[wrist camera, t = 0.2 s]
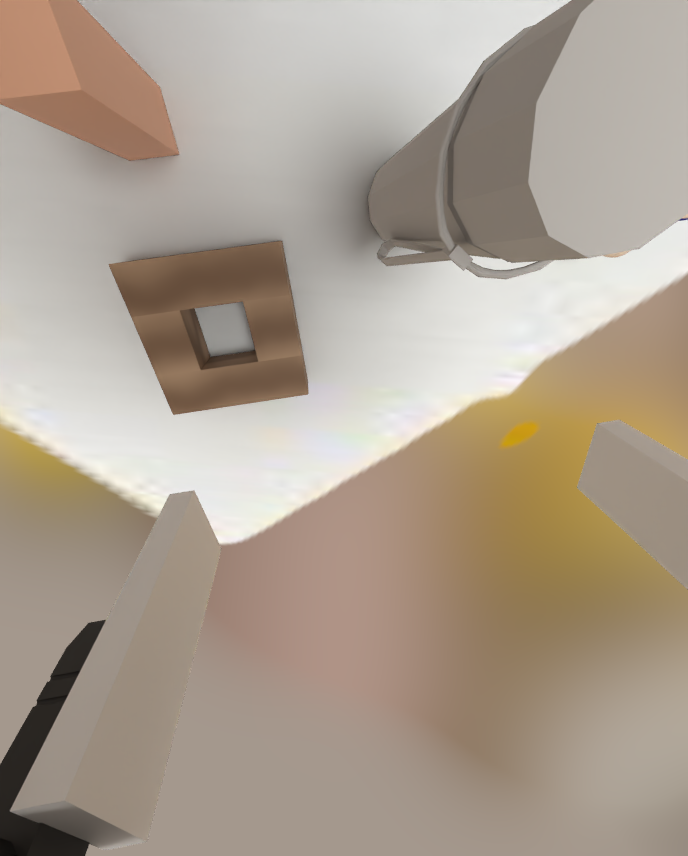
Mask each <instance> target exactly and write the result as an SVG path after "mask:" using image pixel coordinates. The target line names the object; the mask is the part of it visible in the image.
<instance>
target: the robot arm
mask: <svg viewBox="0 0 688 856" xmlns="http://www.w3.org/2000/svg"><path fill="white" fill-rule="evenodd" d="M577 488H578V489H579V490H580V491H581V492H582V493H583V494H584V495H586V496H587V497H588V498H589V499H590V500H591V501H592V502H593V503H594V504H595V505H596V506H598V507H599V508H600V509H601V510H602V511H603V512H604V513H605V514H606V515H607V516H608V517H610V518H611V519H612V520H613V521H614V522H615V523H616V524H617V525H618V526H619V527H620V528H622V529H623V530H624V531H625V532H626V533H627V534H628V535H629V536H630V537H631V538H632V539H633V540H634V541H636V542H637V543H638V544H639V545H640V546H641V547H642V548H643V549H644V550H645V551H646V552H647V553H649V554H650V555H651V556H652V557H653V558H654V559H655V560H656V561H657V562H658V563H660V564H661V565H662V566H663V567H664V568H665V569H666V570H667V571H668V572H669V573H670V574H671V575H673V576H674V577H675V578H676V579H677V580H678V581H679V582H680V583H681V584H682V585H683V586H685V587H686V588H687V589H688V459H686V458H684V457H682V456H681V455H679V454H677V453H676V452H674V451H672V450H670V449H669V448H667V447H665V446H664V445H662V444H660V443H658V442H656V441H655V440H653V439H652V438H650V437H648V436H646V435H645V434H643V433H641V432H640V431H638V430H636V429H634V428H633V427H631V426H629V425H627V424H626V423H624V422H622V421H621V420H615V421H609V422H603V423H597V425H596V428H595V431H594V435H593V438H592V441H591V444H590V447H589V451H588V454H587V457H586V460H585V463H584V467H583V470H582V473H581V476H580V480H579V483H578V486H577ZM220 552H221V547H220V545H219V543H218V540H217V538H216V536H215V534H214V532H213V530H212V528H211V525H210V523H209V521H208V519H207V517H206V515H205V513H204V510H203V508H202V506H201V504H200V502H199V500H198V497H197V495H196V493H195V491H194V490H193V491H187V492H181V493H175V494H170V495H169V497H168V499H167V501H166V503H165V505H164V507H163V509H162V511H161V513H160V515H159V516H158V518H157V520H156V522H155V525H154V526H153V528H152V530H151V532H150V534H149V536H148V538H147V540H146V542H145V544H144V546H143V548H142V550H141V552H140V554H139V556H138V558H137V560H136V562H135V564H134V566H133V568H132V570H131V572H130V574H129V576H128V578H127V580H126V582H125V584H124V586H123V588H122V590H121V592H120V594H119V596H118V598H117V600H116V602H115V604H114V606H113V608H112V610H111V611H110V613H109V615H108V618H107V619H106V620H102V621H97V622H91V623H88V624H87V625H86V627H85V628H84V629H83V630H82V631H81V632H80V633H79V635H78V636H77V637H76V638H75V639H74V640H73V641H72V642H71V644H70V645H69V646H68V647H67V648H66V650H65V652H64V654H63V655H62V657H61V659H60V660H59V662H58V664H57V666H56V667H55V669H54V671H53V673H52V675H51V680H50V681H49V682H47V683H46V685H45V687H44V688H43V690H42V692H41V694H40V696H39V697H38V699H37V705H36V706H35V707H33V708H32V710H31V711H30V713H29V715H28V717H27V718H26V720H25V722H24V724H23V725H22V727H21V729H20V731H19V733H18V734H17V736H16V738H15V740H14V741H13V743H12V745H11V747H10V748H9V750H8V752H7V754H6V756H5V757H4V759H3V761H2V763H1V764H0V856H85V854H86V851H87V848H88V845H89V844H91V845H93V846H96V847H98V848H101V849H103V850H109V849H114V848H119V847H124V846H129V845H134V844H139V843H144V842H147V841H148V837H149V832H150V829H151V824H152V821H153V817H154V813H155V809H156V805H157V801H158V797H159V793H160V789H161V785H162V781H163V777H164V773H165V770H166V766H167V762H168V758H169V754H170V750H171V746H172V741H173V738H174V734H175V730H176V726H177V722H178V718H179V714H180V710H181V706H182V702H183V698H184V695H185V691H186V687H187V683H188V679H189V675H190V671H191V667H192V662H193V659H194V655H195V651H196V647H197V643H198V639H199V635H200V631H201V627H202V624H203V620H204V616H205V611H206V608H207V604H208V599H209V596H210V592H211V588H212V584H213V580H214V576H215V572H216V568H217V564H218V560H219V556H220Z"/></svg>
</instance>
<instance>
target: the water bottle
mask: <svg viewBox="0 0 688 856" xmlns="http://www.w3.org/2000/svg"><path fill="white" fill-rule="evenodd" d="M368 204H369V214H370V221H371V223H372V225H373V226H374V228H375V229H376V231H377V232H378V234H379V236H380V237H381V239H383V240H385V241H386V242H385V243H383V244H382V245H381V247H380V249H379V251H378V253H377V258H379V259H380V260H381V261H382V262H383V263H384V264H385V265H387V266H393V265H404V264H415V263H425V262H436V261H447V260H452V261H453V262H454V263H455V264H456V265H458V266H459V267H460V268H461V269H462V270H463V271H464V270H465V268H466V269H467V270H469V271H470V272H472V273H473V274H475V275H476V276H478V277H485V278H497V279H509V278H512V277H516V276H519V275H523V274H526V273H530V272H534V271H537V270H540V269H542V268H543V267H545V266H546V265H548V264H549V263H551V262H552V261H554V260H564V259H580V258H591V257H597V256H602V255H608V254H613V253H619V252H624V251H630V250H635V249H640V248H641V247H642V246H644V245H645V244H647V243H648V242H649V241H651V240H652V239H654V238H655V237H656V236H658V235H659V234H660V233H662V232H663V231H665V230H666V229H667V228H669V227H670V226H672V225H673V224H674V223H676V222H677V221H678V220H680V219H681V218H683V217H684V216H685V215H687V214H688V0H572V1H570V2H569V3H567V4H566V5H564V6H563V7H561V8H560V9H558V10H557V11H555V12H554V13H552V14H551V15H549V16H548V17H546V18H545V19H543V20H542V21H540V22H539V23H537V24H536V25H533V26H530V27H528V28H525V29H523V30H522V31H521V32H519V33H518V34H517V35H516V36H514V37H513V38H512V39H511V40H509V41H508V42H507V43H505V44H504V45H503V46H502V47H501V48H499V49H498V50H497V51H496V52H494V53H493V54H492V55H491V56H489V57H488V58H487V59H486V60H484V61H483V63H482V64H481V66H480V67H479V69H478V70H477V72H476V73H475V75H474V76H473V78H472V80H471V81H470V83H469V84H468V86H467V87H466V89H465V90H464V92H463V93H462V95H461V96H460V98H459V99H458V100H457V101H456V102H455V103H453V104H452V105H451V106H450V107H449V108H448V109H447V110H445V111H444V112H443V113H442V114H441V115H440V116H438V117H437V118H436V119H435V120H434V121H433V122H432V123H430V124H429V125H428V126H427V127H426V128H425V129H424V130H422V131H421V132H420V133H419V134H418V135H417V136H416V137H414V138H413V139H412V140H411V141H410V142H409V143H407V144H406V145H405V146H404V147H403V148H402V149H401V150H399V151H398V152H397V153H396V154H395V155H394V156H393V157H392V158H391V159H390V160H389V161H387V162H386V163H385V164H384V165H383V166H382V167H381V168H380V169H379V170H378V171H377V172H376V174H375V177H374V180H373V183H372V186H371V189H370V192H369V195H368ZM396 246H397V247H402V248H407V249H412V250H417V251H422V252H425V253H417V254H410V255H403V256H395V257H388V258H385V257H386V255H387V254H388V252H389V251H390V250H391V249H392V248H394V247H396ZM469 255H472V256H480V257H489V258H498V259H503V260H505V261H507V262H511V263H516V262H532V261H538V262H535V263H533V264H530V265H527V266H525V267H521V268H516V269H511V270H492V269H487V268H483V267H481V266H479V265H477V264H475V263H473V262H471V261H472V260H473V259H472V258H471V257H470V256H469Z"/></svg>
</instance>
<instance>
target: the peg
mask: <svg viewBox="0 0 688 856" xmlns="http://www.w3.org/2000/svg"><path fill="white" fill-rule="evenodd" d="M0 104H2V105H4V106H6V107H8V108H11V109H13V110H15V111H18V112H20V113H22V114H24V115H27V116H29V117H31V118H34V119H36V120H38V121H40V122H43V123H45V124H47V125H49V126H52V127H54V128H56V129H59V130H61V131H63V132H65V133H68V134H70V135H72V136H75V137H77V138H79V139H81V140H84V141H86V142H88V143H91V144H93V145H95V146H97V147H100V148H102V149H104V150H107V151H109V152H111V153H113V154H116V155H118V156H120V157H123V158H125V159H127V160H129V161H131V160H139V159H147V158H156V157H164V156H172V155H179V152H178V148H177V145H176V141H175V138H174V135H173V131H172V128H171V124H170V121H169V117H168V114H167V110H166V107H165V103H164V100H163V96H162V93H161V89H160V87H159V86H158V85H157V84H156V83H155V82H154V81H153V80H152V79H151V77H150V76H149V75H148V74H147V73H146V72H145V71H144V70H143V69H142V68H141V67H140V66H139V65H138V64H137V63H136V62H135V61H134V60H133V59H132V58H131V57H130V55H129V54H128V53H127V52H126V51H125V50H124V49H123V48H122V47H121V46H120V45H119V44H118V43H117V42H116V41H115V40H114V39H113V38H112V37H111V36H110V34H109V33H108V32H107V31H106V30H105V29H104V28H103V27H102V26H101V25H100V24H99V23H98V22H97V21H96V20H95V19H94V18H93V17H92V16H91V15H90V14H89V12H88V11H87V10H86V9H85V8H84V7H83V6H82V5H81V4H80V3H79V2H78V1H77V0H0Z"/></svg>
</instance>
